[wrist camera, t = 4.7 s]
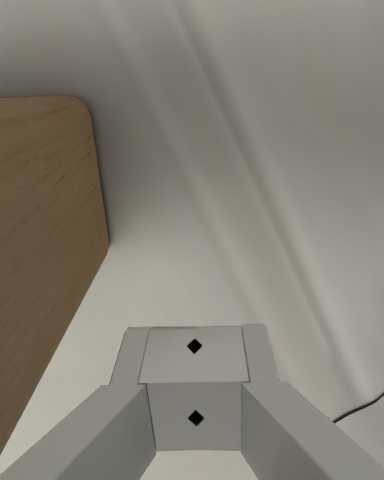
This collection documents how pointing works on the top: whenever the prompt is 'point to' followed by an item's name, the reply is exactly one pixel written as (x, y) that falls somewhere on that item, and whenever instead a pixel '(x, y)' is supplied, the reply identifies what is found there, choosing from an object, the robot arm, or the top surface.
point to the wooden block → (43, 236)
